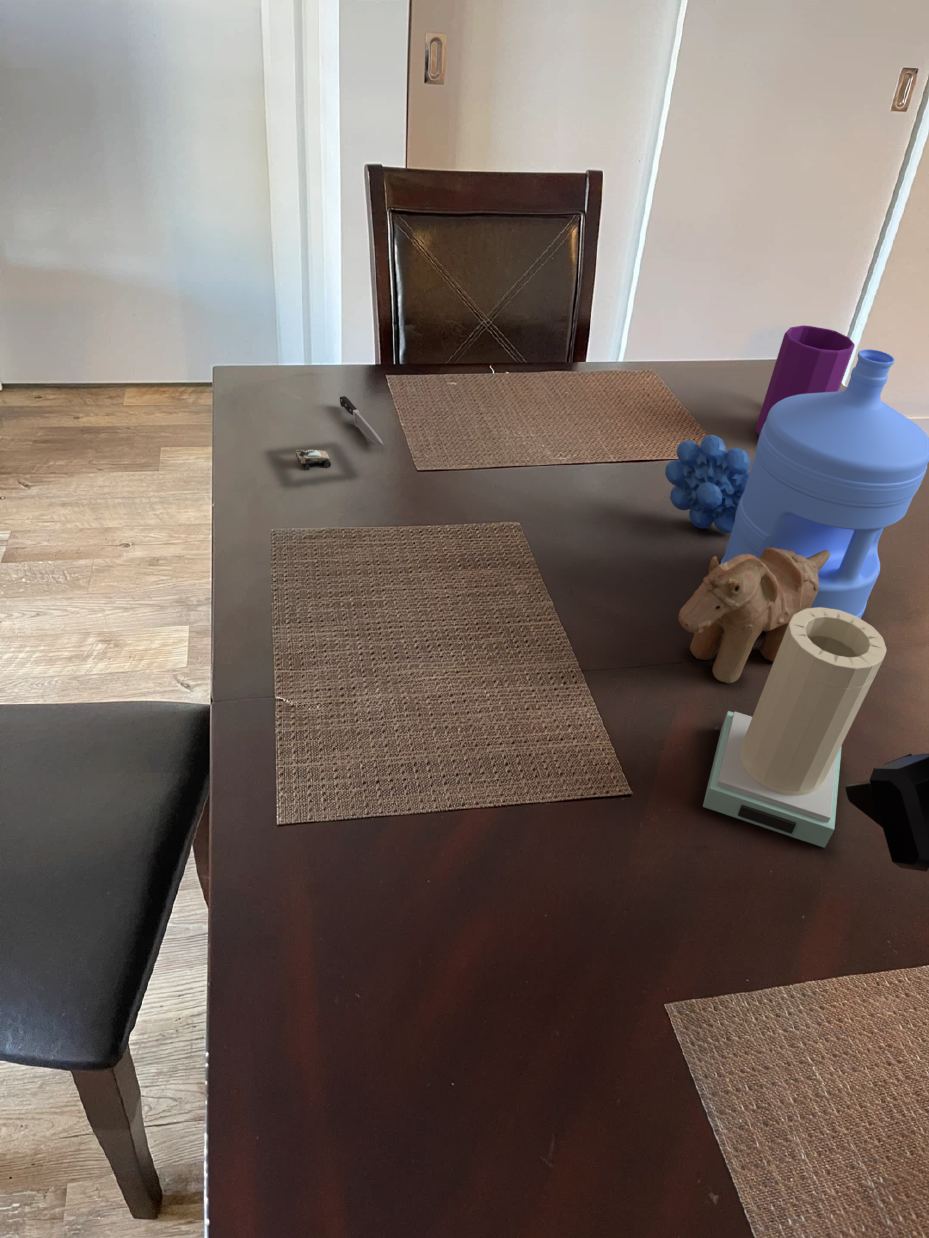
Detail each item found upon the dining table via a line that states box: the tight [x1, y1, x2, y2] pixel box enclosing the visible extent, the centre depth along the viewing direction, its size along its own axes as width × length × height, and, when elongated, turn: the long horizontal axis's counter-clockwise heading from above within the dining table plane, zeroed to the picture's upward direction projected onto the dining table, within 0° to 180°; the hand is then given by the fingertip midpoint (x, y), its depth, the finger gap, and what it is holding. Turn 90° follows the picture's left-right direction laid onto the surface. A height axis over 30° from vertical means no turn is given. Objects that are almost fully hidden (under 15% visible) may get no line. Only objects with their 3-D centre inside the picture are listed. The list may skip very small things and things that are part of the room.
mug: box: [755, 324, 856, 438], centre depth 129 cm, size 9×16×15 cm, turn 165°
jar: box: [740, 607, 887, 795], centre depth 72 cm, size 7×7×14 cm
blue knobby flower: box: [664, 434, 752, 534], centre depth 106 cm, size 12×7×12 cm, turn 67°
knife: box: [339, 395, 384, 447], centre depth 122 cm, size 15×1×2 cm, turn 27°
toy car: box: [295, 449, 332, 471], centre depth 114 cm, size 3×4×2 cm, turn 113°
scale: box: [702, 710, 842, 849], centre depth 77 cm, size 10×10×3 cm
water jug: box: [719, 348, 929, 633], centre depth 91 cm, size 16×16×28 cm
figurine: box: [678, 547, 830, 684], centre depth 86 cm, size 7×18×15 cm, turn 122°
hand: (895, 774), depth 65 cm, fingers open, 9 cm apart
